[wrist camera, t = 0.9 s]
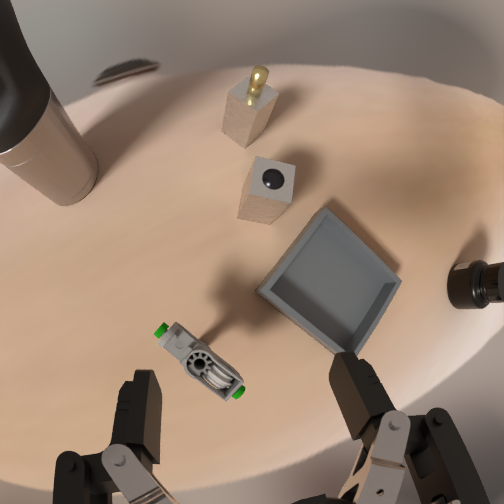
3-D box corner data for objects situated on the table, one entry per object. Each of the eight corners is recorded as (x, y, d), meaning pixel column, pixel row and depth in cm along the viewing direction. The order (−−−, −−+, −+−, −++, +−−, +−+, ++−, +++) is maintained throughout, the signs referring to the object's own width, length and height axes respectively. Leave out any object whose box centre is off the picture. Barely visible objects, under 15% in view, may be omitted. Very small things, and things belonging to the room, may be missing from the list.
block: (237, 218, 37) (249, 193, 28) (242, 187, 38) (255, 155, 29) (269, 224, 38) (291, 203, 29) (274, 194, 39) (295, 165, 30)
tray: (254, 291, 36) (260, 290, 33) (316, 211, 40) (326, 204, 36) (339, 358, 37) (351, 363, 34) (389, 280, 40) (402, 279, 37)
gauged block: (221, 131, 39) (232, 69, 26) (240, 114, 40) (257, 53, 27) (244, 149, 39) (264, 90, 26) (263, 131, 40) (288, 73, 27)
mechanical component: (176, 311, 34) (167, 317, 24) (237, 361, 35) (251, 385, 25) (161, 328, 34) (147, 340, 24) (223, 378, 34) (231, 407, 24)
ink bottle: (473, 275, 45) (517, 269, 33) (465, 315, 43) (511, 315, 31) (449, 255, 44) (496, 245, 32) (440, 299, 42) (490, 297, 30)
